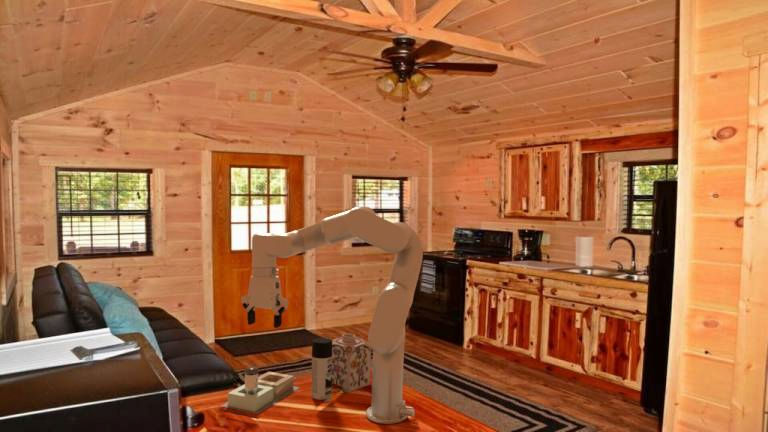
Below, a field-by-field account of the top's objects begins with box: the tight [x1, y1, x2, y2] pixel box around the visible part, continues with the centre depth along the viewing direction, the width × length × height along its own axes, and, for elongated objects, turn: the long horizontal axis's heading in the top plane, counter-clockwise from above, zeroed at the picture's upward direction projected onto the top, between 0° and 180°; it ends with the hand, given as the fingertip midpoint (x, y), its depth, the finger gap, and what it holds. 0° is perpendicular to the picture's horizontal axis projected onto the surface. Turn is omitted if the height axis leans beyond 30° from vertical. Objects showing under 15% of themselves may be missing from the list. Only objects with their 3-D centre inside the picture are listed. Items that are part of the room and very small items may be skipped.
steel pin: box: [244, 365, 259, 395], centre depth 170 cm, size 4×4×11 cm
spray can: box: [311, 337, 333, 404], centre depth 178 cm, size 7×7×20 cm
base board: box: [219, 385, 300, 420], centre depth 176 cm, size 14×24×2 cm, turn 158°
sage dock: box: [227, 383, 273, 412], centre depth 170 cm, size 10×10×4 cm
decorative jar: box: [332, 333, 372, 394], centre depth 192 cm, size 12×12×18 cm
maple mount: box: [258, 371, 294, 398], centre depth 181 cm, size 10×10×4 cm
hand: (264, 325), depth 172 cm, fingers open, 9 cm apart
